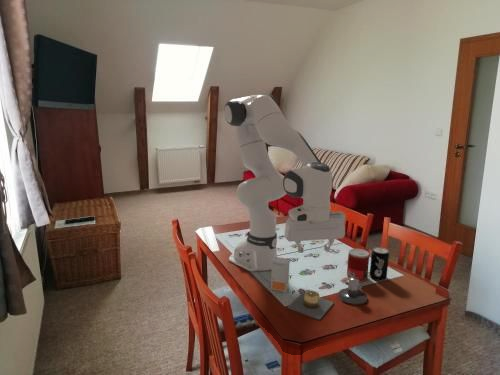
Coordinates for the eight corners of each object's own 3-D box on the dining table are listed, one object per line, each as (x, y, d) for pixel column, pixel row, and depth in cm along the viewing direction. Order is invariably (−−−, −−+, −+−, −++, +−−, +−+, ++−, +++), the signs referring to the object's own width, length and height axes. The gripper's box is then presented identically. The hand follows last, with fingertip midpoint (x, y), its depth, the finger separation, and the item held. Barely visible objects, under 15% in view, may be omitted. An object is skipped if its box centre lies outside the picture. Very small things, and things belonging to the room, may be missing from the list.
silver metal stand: (334, 299, 135) (335, 280, 133) (344, 287, 142) (345, 269, 141) (361, 308, 129) (363, 288, 127) (370, 295, 137) (372, 277, 135)
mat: (287, 308, 129) (287, 306, 129) (303, 293, 138) (303, 292, 138) (319, 320, 122) (319, 318, 122) (333, 303, 132) (333, 302, 131)
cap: (301, 301, 132) (302, 290, 131) (315, 300, 133) (316, 288, 132) (306, 309, 127) (306, 298, 126) (320, 308, 128) (321, 296, 127)
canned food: (368, 282, 146) (370, 257, 144) (347, 280, 148) (349, 255, 145) (366, 273, 154) (368, 249, 151) (346, 271, 155) (348, 247, 152)
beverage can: (368, 279, 149) (371, 251, 146) (370, 272, 155) (372, 245, 152) (386, 282, 147) (389, 254, 144) (386, 275, 153) (389, 248, 150)
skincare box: (270, 289, 141) (271, 260, 138) (273, 284, 145) (274, 256, 142) (286, 292, 139) (287, 263, 136) (288, 287, 143) (289, 258, 140)
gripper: (342, 207, 126) (339, 245, 130) (284, 210, 123) (282, 249, 126) (350, 213, 120) (346, 253, 124) (289, 217, 117) (287, 257, 120)
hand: (313, 251), depth 125 cm, fingers open, 8 cm apart
